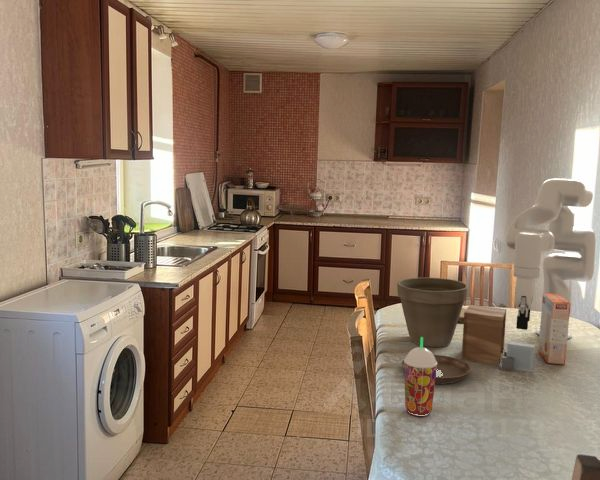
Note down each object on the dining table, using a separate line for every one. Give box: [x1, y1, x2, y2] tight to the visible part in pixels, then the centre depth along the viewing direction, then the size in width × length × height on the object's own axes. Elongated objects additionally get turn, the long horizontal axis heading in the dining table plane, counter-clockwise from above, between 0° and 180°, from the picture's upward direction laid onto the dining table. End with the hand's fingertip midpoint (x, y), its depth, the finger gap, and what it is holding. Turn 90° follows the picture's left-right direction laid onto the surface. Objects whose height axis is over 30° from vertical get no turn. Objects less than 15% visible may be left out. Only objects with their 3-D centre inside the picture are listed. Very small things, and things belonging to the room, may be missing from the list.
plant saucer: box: [400, 354, 471, 385], centre depth 173 cm, size 21×21×3 cm
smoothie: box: [403, 337, 438, 415], centre depth 144 cm, size 8×8×20 cm
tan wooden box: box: [461, 304, 507, 366], centre depth 189 cm, size 12×12×16 cm
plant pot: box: [396, 277, 469, 348], centre depth 205 cm, size 25×25×22 cm
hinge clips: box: [498, 350, 515, 372], centre depth 181 cm, size 8×4×4 cm, turn 155°
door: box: [506, 341, 536, 373], centre depth 179 cm, size 3×8×8 cm, turn 65°
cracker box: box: [537, 293, 571, 365], centre depth 189 cm, size 14×6×21 cm, turn 168°
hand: (523, 324), depth 178 cm, fingers open, 9 cm apart
